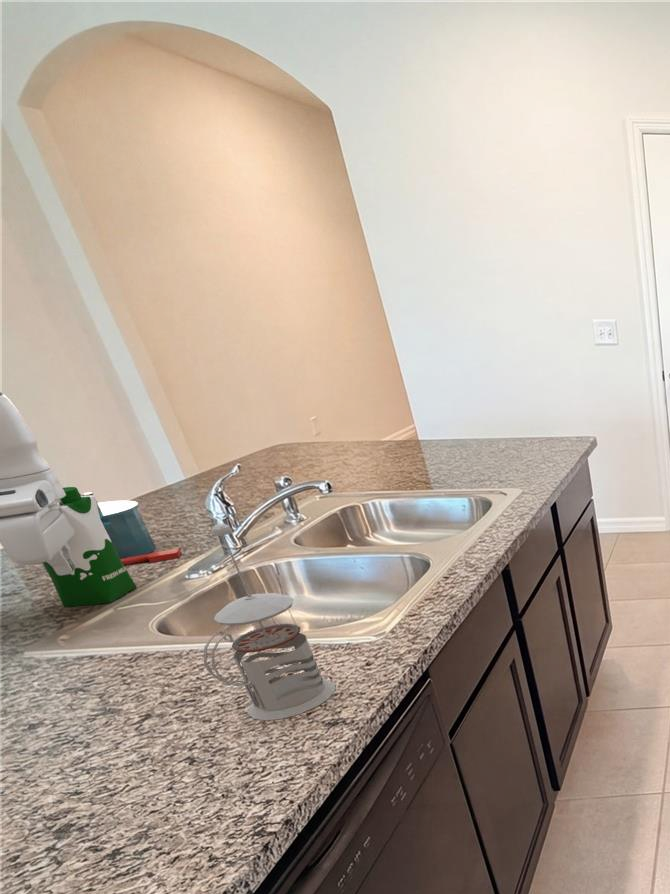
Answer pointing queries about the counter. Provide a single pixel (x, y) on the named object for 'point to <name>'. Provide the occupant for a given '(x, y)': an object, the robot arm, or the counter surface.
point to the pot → (129, 534)
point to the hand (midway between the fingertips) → (67, 572)
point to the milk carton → (89, 557)
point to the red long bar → (153, 557)
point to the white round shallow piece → (114, 507)
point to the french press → (270, 655)
